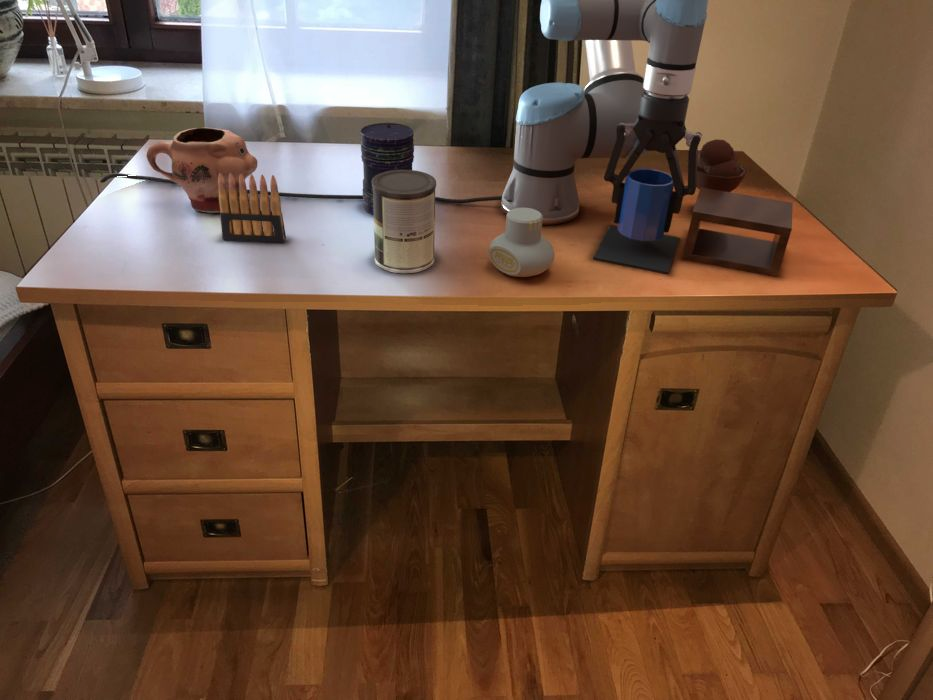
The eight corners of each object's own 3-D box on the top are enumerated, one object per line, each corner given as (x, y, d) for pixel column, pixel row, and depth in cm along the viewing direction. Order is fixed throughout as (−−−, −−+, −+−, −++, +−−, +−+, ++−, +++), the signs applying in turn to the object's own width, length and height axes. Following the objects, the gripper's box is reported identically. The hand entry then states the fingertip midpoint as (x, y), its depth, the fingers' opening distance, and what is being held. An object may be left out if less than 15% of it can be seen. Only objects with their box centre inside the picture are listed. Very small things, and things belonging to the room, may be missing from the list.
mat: (592, 259, 132) (593, 257, 132) (610, 226, 144) (610, 224, 143) (668, 274, 128) (668, 272, 128) (679, 239, 140) (679, 237, 140)
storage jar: (412, 218, 143) (412, 140, 135) (360, 216, 143) (357, 138, 134) (415, 198, 151) (415, 123, 143) (366, 196, 151) (363, 121, 143)
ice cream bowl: (738, 227, 146) (757, 151, 138) (679, 220, 147) (695, 144, 139) (733, 206, 155) (751, 133, 146) (677, 200, 156) (692, 127, 148)
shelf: (682, 258, 133) (692, 211, 128) (690, 232, 143) (700, 187, 138) (777, 277, 129) (792, 228, 124) (779, 248, 139) (792, 202, 134)
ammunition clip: (222, 240, 132) (212, 174, 126) (225, 235, 134) (216, 170, 127) (283, 243, 132) (277, 177, 126) (286, 238, 134) (279, 173, 127)
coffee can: (361, 260, 128) (358, 180, 120) (403, 241, 135) (402, 164, 127) (405, 280, 123) (405, 198, 115) (447, 259, 130) (449, 180, 122)
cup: (614, 235, 132) (622, 180, 126) (622, 218, 138) (631, 165, 133) (660, 244, 130) (671, 188, 124) (666, 226, 136) (677, 173, 130)
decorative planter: (146, 218, 138) (131, 143, 131) (162, 192, 148) (149, 122, 141) (258, 218, 140) (249, 144, 133) (266, 193, 150) (259, 123, 143)
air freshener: (560, 273, 127) (567, 218, 121) (527, 289, 122) (533, 232, 116) (512, 251, 133) (517, 197, 128) (479, 265, 128) (482, 209, 123)
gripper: (596, 89, 121) (579, 222, 133) (731, 107, 115) (700, 244, 128) (606, 79, 127) (588, 207, 139) (735, 96, 121) (704, 227, 133)
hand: (642, 224), depth 133 cm, fingers closed on cup, 8 cm apart
